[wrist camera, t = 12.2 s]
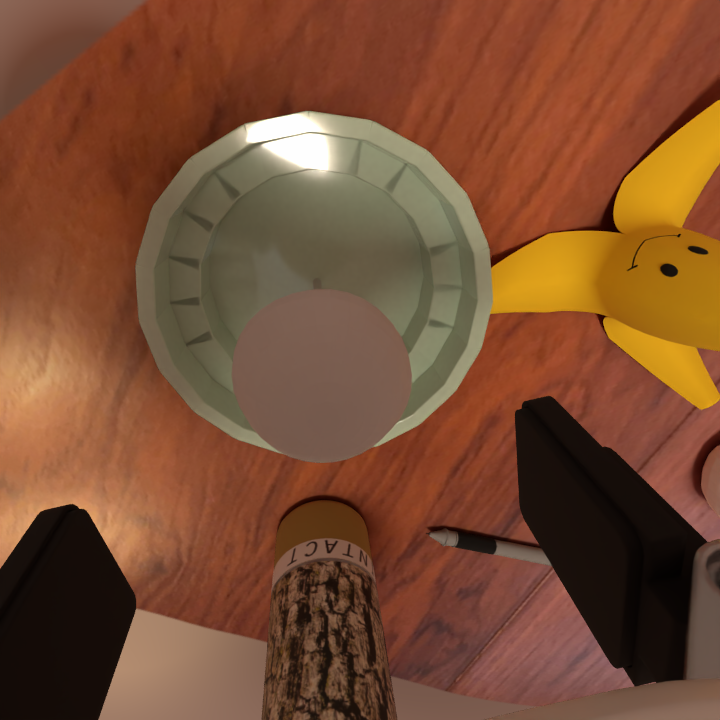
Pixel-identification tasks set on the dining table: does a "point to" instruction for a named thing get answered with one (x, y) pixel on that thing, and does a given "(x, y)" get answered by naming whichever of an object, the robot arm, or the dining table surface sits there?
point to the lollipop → (321, 374)
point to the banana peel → (638, 266)
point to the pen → (489, 546)
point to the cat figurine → (712, 480)
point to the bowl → (311, 254)
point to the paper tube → (325, 621)
